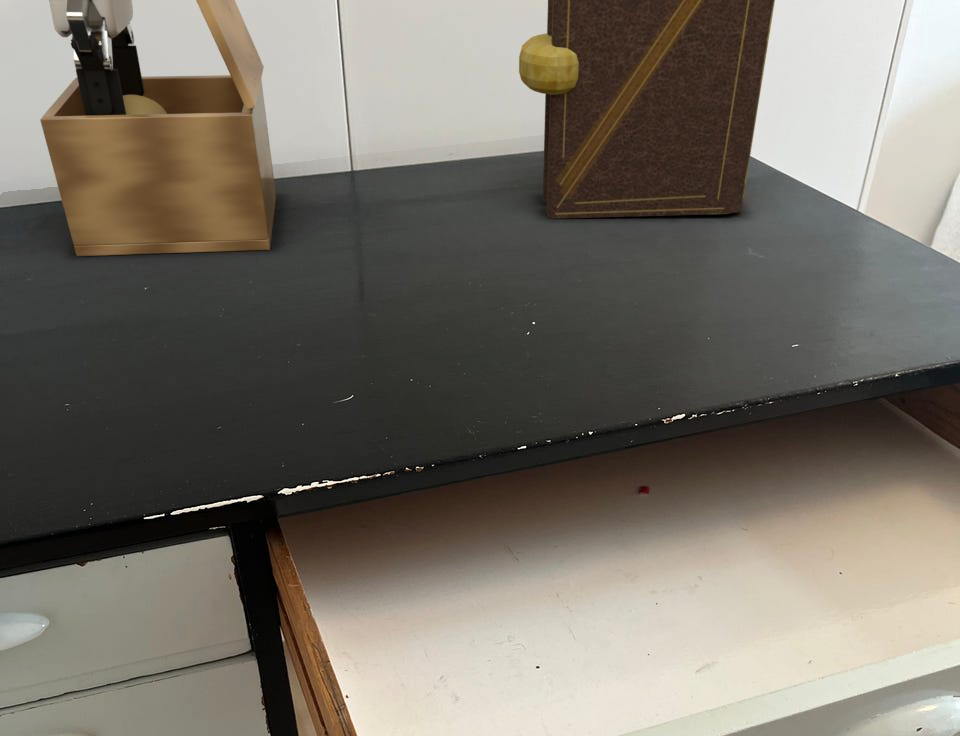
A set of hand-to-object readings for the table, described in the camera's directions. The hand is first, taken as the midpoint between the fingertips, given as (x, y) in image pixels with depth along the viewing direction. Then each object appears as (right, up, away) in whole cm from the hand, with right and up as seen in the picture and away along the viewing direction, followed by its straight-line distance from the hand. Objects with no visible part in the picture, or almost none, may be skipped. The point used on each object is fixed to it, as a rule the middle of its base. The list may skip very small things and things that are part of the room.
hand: (117, 109), depth 84 cm
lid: (+9, +8, -6) cm, 13 cm away
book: (+47, -4, +11) cm, 48 cm away
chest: (+4, -7, +7) cm, 10 cm away
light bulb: (+1, -7, +6) cm, 9 cm away
